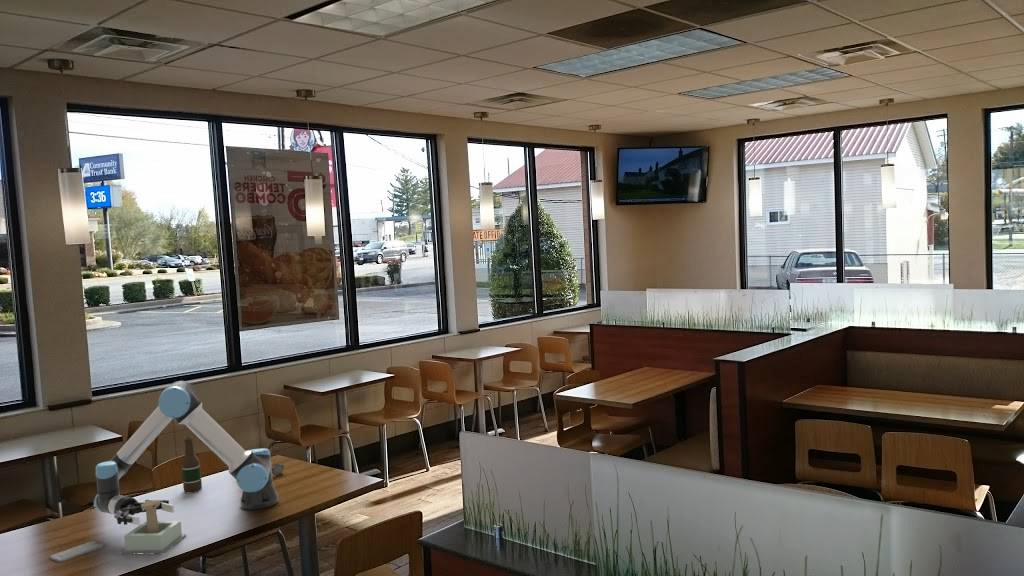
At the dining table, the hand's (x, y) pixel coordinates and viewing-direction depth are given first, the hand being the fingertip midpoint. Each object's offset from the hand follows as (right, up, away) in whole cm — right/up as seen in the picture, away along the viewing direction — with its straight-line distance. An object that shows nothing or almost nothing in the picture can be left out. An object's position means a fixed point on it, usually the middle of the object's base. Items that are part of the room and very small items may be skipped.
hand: (156, 514), depth 294 cm
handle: (-2, -11, +3) cm, 12 cm away
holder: (-2, -12, +3) cm, 12 cm away
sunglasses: (+13, -6, +85) cm, 86 cm away
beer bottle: (-13, -8, +67) cm, 69 cm away
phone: (-29, -15, +1) cm, 33 cm away
